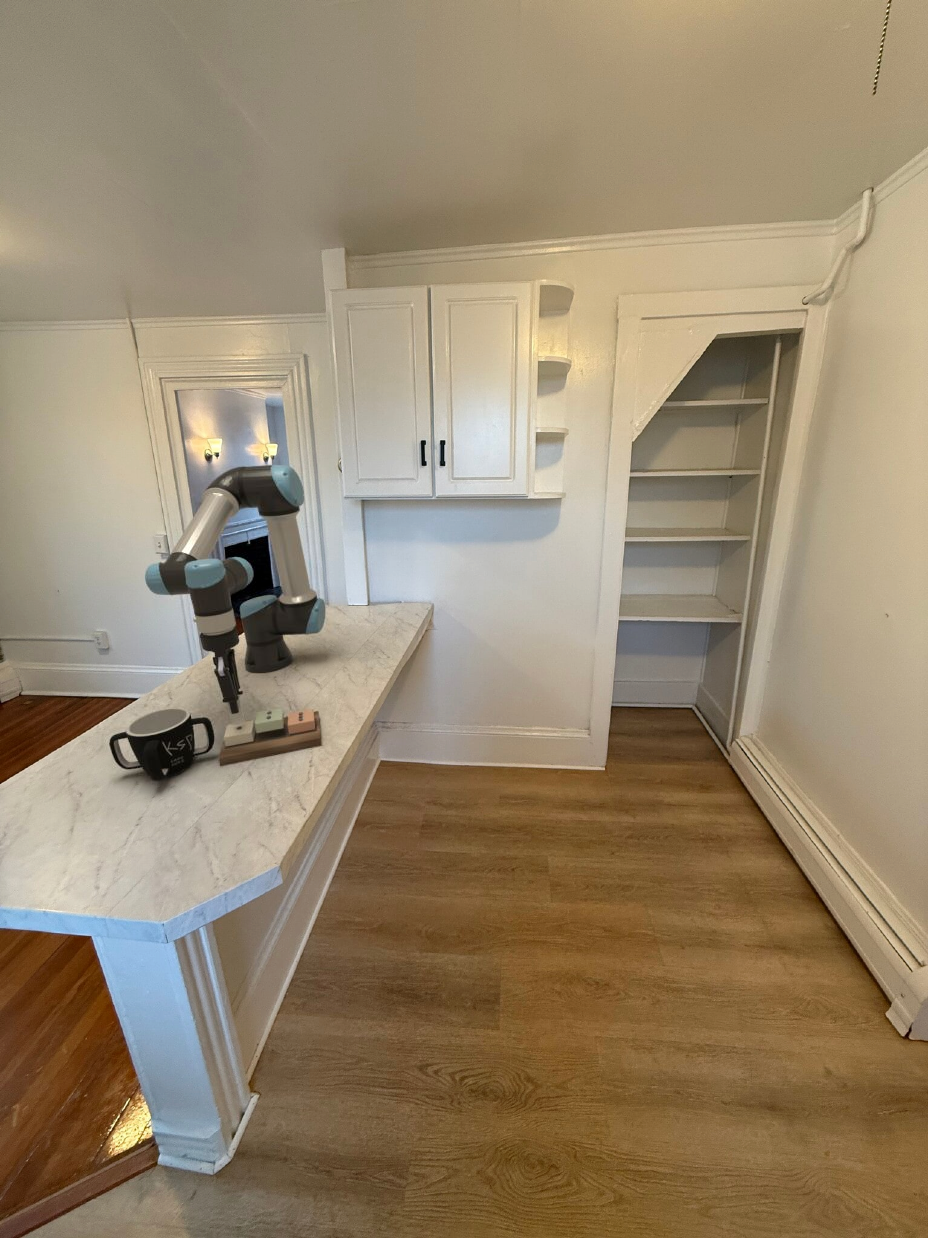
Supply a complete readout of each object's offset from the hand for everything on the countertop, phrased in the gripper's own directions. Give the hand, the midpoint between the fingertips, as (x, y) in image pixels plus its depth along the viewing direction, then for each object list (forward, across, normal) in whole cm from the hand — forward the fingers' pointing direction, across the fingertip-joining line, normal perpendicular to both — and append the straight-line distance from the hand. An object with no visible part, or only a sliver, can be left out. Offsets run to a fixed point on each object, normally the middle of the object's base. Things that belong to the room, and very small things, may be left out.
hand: (238, 722), depth 112 cm
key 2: (+2, 0, +7) cm, 7 cm away
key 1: (+4, 0, 0) cm, 4 cm away
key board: (+6, 0, +7) cm, 9 cm away
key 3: (+4, 0, +14) cm, 14 cm away
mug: (+6, +4, -15) cm, 16 cm away
